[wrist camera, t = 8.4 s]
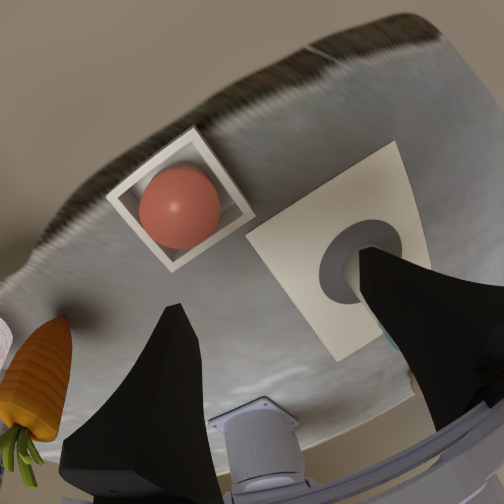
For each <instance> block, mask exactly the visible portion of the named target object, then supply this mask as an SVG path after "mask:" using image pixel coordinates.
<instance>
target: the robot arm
mask: <svg viewBox="0 0 504 504" xmlns="http://www.w3.org/2000/svg"><path fill="white" fill-rule="evenodd" d="M359 280H360V292H361V294H362V296H363V298H364V299H365V301H366V303H367V305H368V306H369V308H370V310H371V311H372V313H373V314H374V315H375V317H376V318H377V319H378V321H379V322H380V323H381V325H382V326H383V327H384V329H385V330H386V331H387V333H388V334H389V335H390V337H391V338H392V339H393V341H394V342H395V344H396V345H397V346H398V348H399V349H400V351H401V352H402V354H403V356H404V357H405V359H406V361H407V363H408V365H409V367H410V369H411V370H412V372H413V374H414V377H415V379H416V381H417V383H418V385H419V387H420V389H421V391H422V394H423V396H424V399H425V401H426V403H427V406H428V408H429V411H430V414H431V417H432V420H433V422H434V425H435V429H436V433H434V434H433V435H431V436H429V437H428V438H426V439H424V440H422V441H420V442H419V443H417V444H415V445H413V446H411V447H409V448H407V449H405V450H403V451H402V452H399V453H398V454H395V455H393V456H391V457H389V458H387V459H385V460H383V461H380V462H378V463H376V464H374V465H371V466H369V467H367V468H365V469H362V470H359V471H357V472H355V473H352V474H349V475H347V476H344V477H341V478H338V479H335V480H333V481H330V482H327V483H324V484H321V485H319V484H318V483H317V482H316V481H315V480H313V479H311V478H304V470H305V462H304V459H303V456H302V452H301V449H300V446H299V443H298V440H297V437H296V434H295V431H294V428H295V427H297V426H299V425H300V423H299V421H297V420H296V419H294V418H293V417H292V416H290V415H289V414H287V413H286V412H285V411H283V410H282V409H280V408H279V407H278V406H276V405H275V404H273V403H272V402H271V401H269V400H268V399H267V398H261V399H259V400H256V401H254V402H252V403H250V404H248V405H246V406H243V407H241V408H239V409H237V410H234V411H232V412H230V413H227V414H225V415H223V416H220V417H218V418H216V419H213V420H211V421H209V422H208V426H210V427H212V428H214V429H216V430H218V431H219V432H221V433H223V434H224V435H225V442H226V448H227V455H228V461H229V467H230V473H231V478H232V485H231V487H232V493H233V494H232V493H231V492H226V493H225V495H224V496H223V497H222V494H221V491H220V487H219V484H218V481H217V477H216V473H215V469H214V465H213V461H212V456H211V452H210V447H209V442H208V437H207V432H206V426H205V420H204V410H203V387H202V361H201V354H200V347H199V341H198V338H197V336H196V334H195V332H194V330H193V328H192V326H191V324H190V322H189V320H188V318H187V316H186V313H185V311H184V309H183V307H182V305H181V303H179V304H175V305H171V306H168V307H166V308H165V310H164V311H163V313H162V315H161V317H160V319H159V321H158V323H157V325H156V327H155V329H154V331H153V333H152V335H151V336H150V338H149V340H148V342H147V344H146V346H145V348H144V349H143V351H142V353H141V354H140V356H139V358H138V359H137V361H136V363H135V365H134V366H133V368H132V369H131V371H130V372H129V374H128V375H127V376H126V378H125V379H124V380H123V382H122V383H121V385H120V386H119V387H118V388H117V390H116V391H115V392H114V393H113V394H112V395H111V397H110V398H109V399H108V400H107V401H106V403H105V404H104V405H103V406H102V407H101V408H100V409H99V410H98V411H97V412H96V413H95V414H94V415H93V416H92V417H91V418H90V419H89V420H88V421H87V422H86V423H85V424H83V425H82V426H81V427H80V428H79V429H77V430H76V431H75V432H74V433H73V434H71V435H70V436H69V437H68V438H66V439H65V440H64V441H63V446H62V452H61V458H60V465H59V474H60V476H61V477H62V478H63V479H64V480H65V481H66V482H68V483H70V484H72V485H73V486H75V487H77V488H78V489H80V490H82V491H84V492H86V493H88V494H90V495H93V496H94V500H93V503H92V502H88V501H83V500H77V499H69V498H64V497H62V498H61V504H333V503H336V502H338V501H341V500H344V499H347V498H350V497H352V496H355V495H357V494H360V493H363V492H365V491H367V490H370V489H372V488H374V487H377V486H379V485H381V484H384V483H386V482H388V481H390V480H392V479H394V478H396V477H398V476H400V475H402V474H404V473H406V472H408V471H410V470H412V469H414V468H416V467H418V466H419V465H421V464H423V463H425V462H426V461H428V460H430V459H431V458H433V457H435V456H437V455H438V454H440V453H442V452H443V451H445V450H446V449H448V448H449V449H448V450H446V451H445V452H444V453H442V454H441V455H440V457H439V459H438V460H437V461H436V462H435V463H434V464H433V465H432V466H431V467H430V468H429V469H428V470H426V471H425V472H423V473H421V474H419V475H417V476H415V477H413V478H411V479H409V480H407V481H405V482H403V483H401V484H399V485H397V486H395V487H393V488H391V489H388V490H386V491H384V492H382V493H380V494H377V495H375V496H373V497H370V498H368V499H366V500H364V501H361V502H358V503H356V504H504V488H503V485H502V484H501V482H500V480H499V478H498V476H497V474H496V472H497V471H498V470H500V469H501V468H502V467H503V466H504V286H494V285H486V284H480V283H475V282H470V281H465V280H461V279H457V278H454V277H450V276H447V275H444V274H441V273H438V272H435V271H432V270H429V269H427V268H424V267H421V266H419V265H416V264H414V263H412V262H409V261H407V260H404V259H402V258H400V257H397V256H395V255H393V254H390V253H388V252H386V251H383V250H381V249H378V248H376V247H373V246H371V247H368V248H365V249H362V250H359ZM451 446H452V447H451Z"/></svg>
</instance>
